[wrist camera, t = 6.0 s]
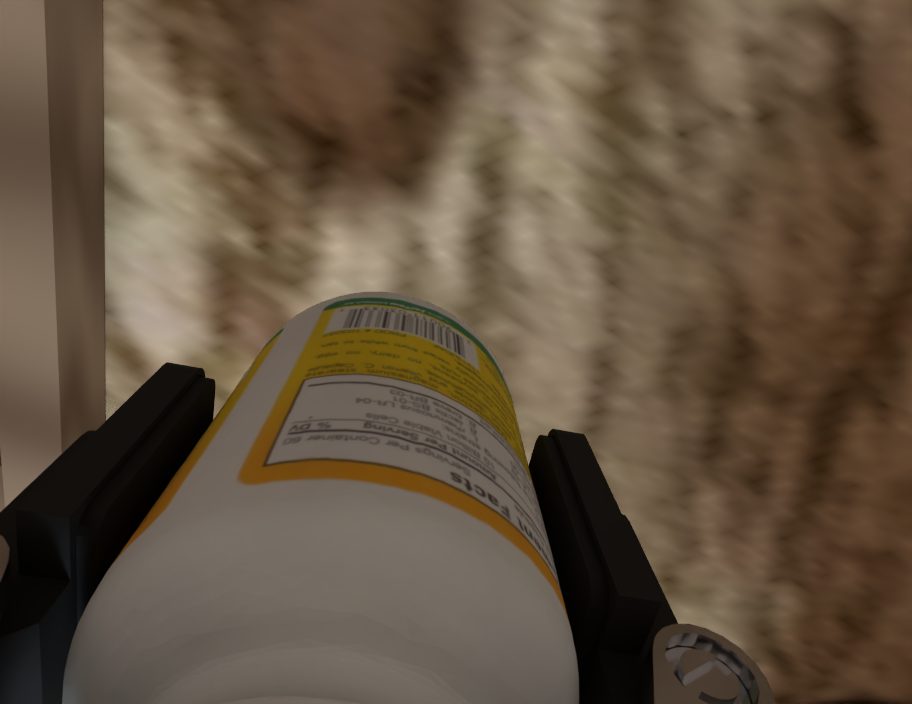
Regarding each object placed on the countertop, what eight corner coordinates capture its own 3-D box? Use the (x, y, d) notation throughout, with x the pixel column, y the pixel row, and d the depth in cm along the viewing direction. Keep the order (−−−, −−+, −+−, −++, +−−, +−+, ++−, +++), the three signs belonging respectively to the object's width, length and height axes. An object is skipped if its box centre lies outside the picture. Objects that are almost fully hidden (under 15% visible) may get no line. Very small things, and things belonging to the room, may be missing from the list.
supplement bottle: (439, 239, 12) (479, 693, 3) (547, 459, 13) (783, 1162, 4) (194, 357, 12) (-439, 1040, 3) (329, 551, 14) (160, 1320, 5)
